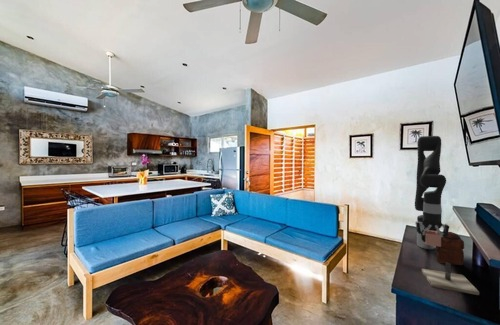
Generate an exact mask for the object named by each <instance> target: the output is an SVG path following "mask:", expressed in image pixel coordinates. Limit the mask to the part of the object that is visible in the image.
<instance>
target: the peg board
mask: <svg viewBox="0 0 500 325" xmlns="http://www.w3.org/2000/svg"><path fill="white" fill-rule="evenodd" d="M444 265H445V266H444V267H445V271H440V270H434V269H433V270H432V269H427V268H421V273H422V274H423V275H424V277H425V279H426V280H427V282H428V283H429V284H430V286H431V287H432V286H433V288H438V289H444V290H449V291H453V292H459V293H464V294H470V295H476V296H480V291H479V290H478V289H477V287H475V286H474V285H473V284H472V283H471V282H470V281H469V280H468V279H467V278H466V276H465V275H463V274H460V273H459V274H458V273H452V264H450V263H447V262H446V263H445V264H444Z"/></svg>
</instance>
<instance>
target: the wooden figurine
mask: <svg viewBox="0 0 500 325" xmlns="http://www.w3.org/2000/svg"><path fill="white" fill-rule="evenodd" d="M464 249H465V241H464V239H462V238H461V237H460V235H458V234H457V233H455V232H452V231H448V236H447V237H446V236H444V237H443V241H442V243H441V247H440V246H435V250H436V252H437V254H436V258H435V259H436V260H435V261H437V262H439V263H440V264H444V265H445V263H446V262H447V263H450V264H451V266H452V265H455V266H462V265H463V263H464V259H465V258H464V257H465V252H464Z"/></svg>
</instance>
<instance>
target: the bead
mask: <svg viewBox="0 0 500 325" xmlns="http://www.w3.org/2000/svg"><path fill="white" fill-rule="evenodd" d="M424 243H425V244H426V245H432V246H435V247H436V246H440V247H441V235H440V234H438V233H437V232H436V231H429V230H428V232H426V233H425V242H424Z"/></svg>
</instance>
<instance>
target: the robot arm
mask: <svg viewBox="0 0 500 325" xmlns="http://www.w3.org/2000/svg"><path fill="white" fill-rule="evenodd" d="M425 152H431V153H430V154H429V155H428V156H427V157H426V155H425ZM441 152H442V138H441V137H440V136H438V135H425V136H419V137H418V139H417V166H416V187H415V188H416V190H415V198H414V209H415V210H416V211H418V212H422V214H419V215H418V216H417V219H416V221H415V227H416V228H415V229H416V245H417V246H418V247H419V248H421V249H424V250H435V249H436V246H432V245H426V244H425V243H424V242H425V233H426V232H428V230H429V231H436V232H437V233H438V234H440V235H441V243H442V241H443V237H444V236H446V237H447V236H448V232H450V231H449V229H450V225H449V224H447V223H445V224H444V223H442V212H443V211H442V210H443V209H442V195H443V192H444V188H445V186H446V184H447V178H446V176H445V175H444V174H440V173H441V163H440V162H441V160H440V159H441V154H442V153H441ZM429 188H435V190H432V191H427V190H428V189H429ZM441 227H442V228H443V230H442V232H441V230H440V229H441Z"/></svg>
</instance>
